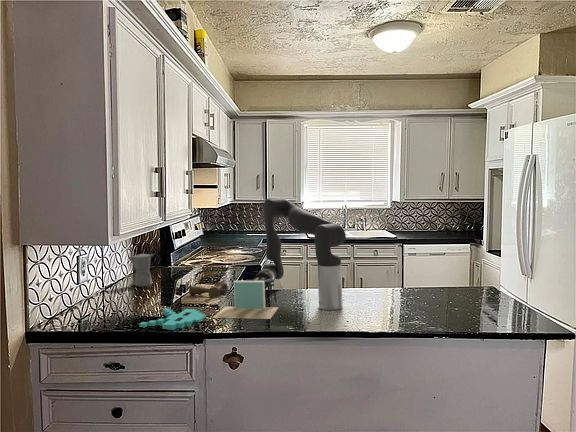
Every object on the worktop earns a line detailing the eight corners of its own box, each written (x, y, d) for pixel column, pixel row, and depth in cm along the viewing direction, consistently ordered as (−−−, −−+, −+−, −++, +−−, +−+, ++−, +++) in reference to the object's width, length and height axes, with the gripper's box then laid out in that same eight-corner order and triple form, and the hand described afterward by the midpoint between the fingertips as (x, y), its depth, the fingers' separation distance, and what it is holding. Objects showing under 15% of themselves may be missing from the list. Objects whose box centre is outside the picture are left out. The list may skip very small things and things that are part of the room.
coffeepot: (130, 288, 230) (128, 252, 228) (129, 284, 238) (127, 250, 237) (162, 284, 235) (160, 249, 234) (159, 281, 244) (158, 247, 243)
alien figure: (139, 330, 163) (192, 331, 159) (139, 323, 163) (191, 325, 159) (165, 313, 183) (212, 315, 179) (165, 308, 183) (212, 309, 179)
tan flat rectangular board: (278, 309, 181) (278, 307, 181) (270, 321, 166) (270, 318, 166) (225, 308, 185) (225, 306, 185) (212, 320, 170) (212, 317, 170)
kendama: (196, 293, 215) (235, 294, 210) (186, 299, 206) (227, 300, 200) (195, 281, 214) (234, 281, 209) (185, 286, 205) (226, 286, 200)
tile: (265, 308, 180) (264, 280, 180) (264, 309, 178) (263, 281, 178) (236, 307, 183) (235, 280, 182) (234, 309, 181) (233, 281, 180)
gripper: (250, 270, 206) (239, 278, 189) (278, 270, 204) (270, 278, 187) (250, 286, 207) (239, 296, 190) (279, 286, 204) (270, 296, 188)
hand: (255, 287), depth 188 cm, fingers closed
